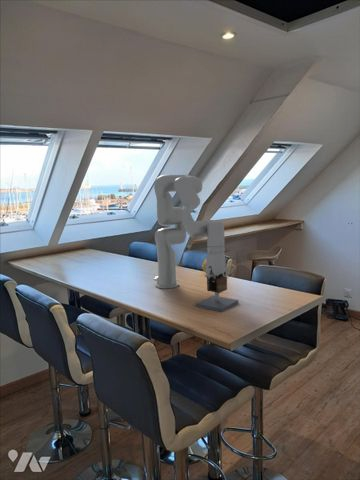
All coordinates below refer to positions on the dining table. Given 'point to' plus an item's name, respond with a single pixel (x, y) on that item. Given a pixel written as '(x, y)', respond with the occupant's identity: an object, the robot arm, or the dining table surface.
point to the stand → (216, 303)
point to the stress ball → (204, 265)
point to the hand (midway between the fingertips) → (217, 288)
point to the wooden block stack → (219, 284)
